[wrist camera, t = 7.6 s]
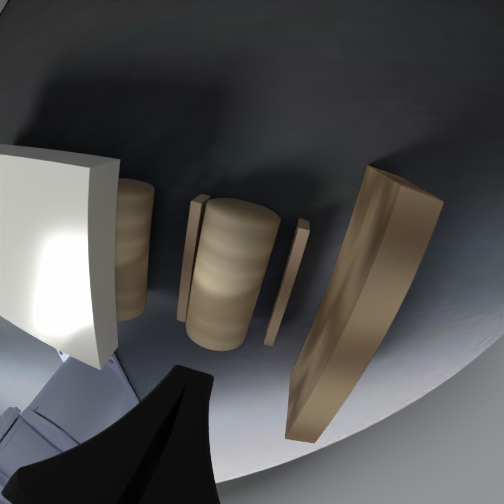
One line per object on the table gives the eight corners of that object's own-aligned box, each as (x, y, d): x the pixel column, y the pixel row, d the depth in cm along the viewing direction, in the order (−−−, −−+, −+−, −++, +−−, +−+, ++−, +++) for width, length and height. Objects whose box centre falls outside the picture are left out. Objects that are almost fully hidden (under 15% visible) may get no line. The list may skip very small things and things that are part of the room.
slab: (118, 346, 18) (100, 370, 16) (-8, 283, 19) (-27, 297, 17) (120, 159, 13) (89, 168, 11) (-22, 142, 14) (-47, 149, 12)
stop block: (314, 380, 22) (314, 443, 17) (290, 375, 22) (284, 438, 17) (398, 176, 15) (443, 201, 10) (367, 164, 16) (401, 185, 10)
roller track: (275, 329, 21) (268, 370, 17) (11, 242, 22) (-18, 260, 18) (309, 220, 17) (311, 247, 14) (6, 157, 18) (-28, 167, 15)
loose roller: (254, 326, 20) (230, 360, 17) (204, 303, 21) (173, 331, 18) (289, 215, 17) (266, 233, 14) (227, 193, 18) (192, 206, 15)
